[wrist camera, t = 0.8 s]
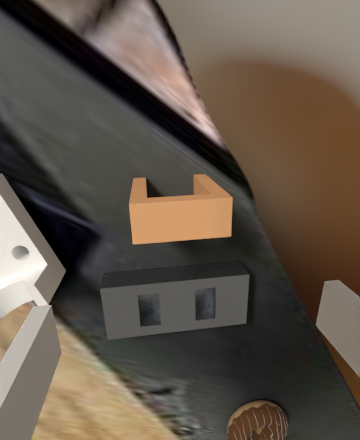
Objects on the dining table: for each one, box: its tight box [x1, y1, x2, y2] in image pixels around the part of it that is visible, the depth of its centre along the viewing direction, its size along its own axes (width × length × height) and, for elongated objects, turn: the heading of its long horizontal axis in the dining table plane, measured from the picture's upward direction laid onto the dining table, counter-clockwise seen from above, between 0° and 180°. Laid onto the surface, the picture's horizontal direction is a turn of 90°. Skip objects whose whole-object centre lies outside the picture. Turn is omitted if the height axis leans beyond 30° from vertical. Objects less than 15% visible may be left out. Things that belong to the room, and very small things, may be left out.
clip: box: [129, 174, 233, 244], centre depth 27 cm, size 4×8×10 cm, turn 92°
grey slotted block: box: [100, 261, 249, 340], centre depth 35 cm, size 8×18×4 cm, turn 92°
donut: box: [227, 400, 288, 440], centre depth 46 cm, size 11×11×4 cm
